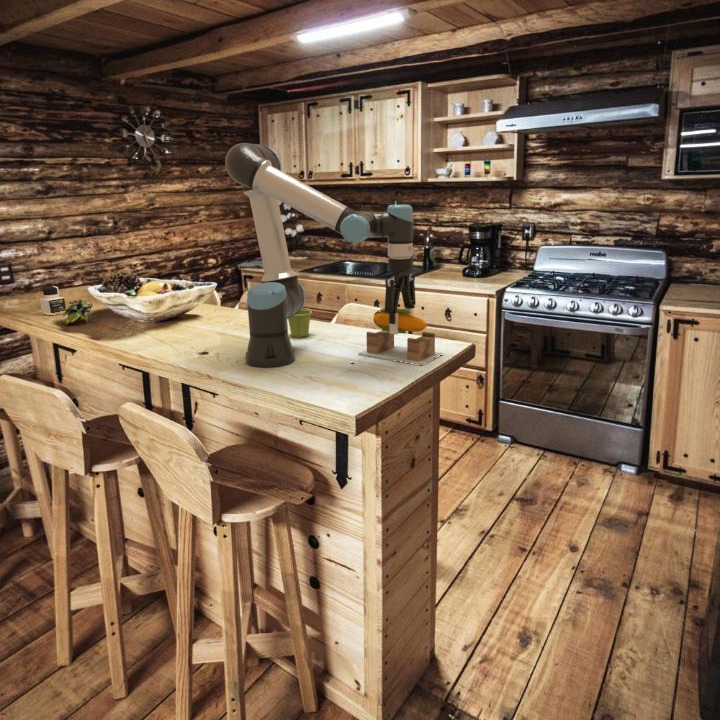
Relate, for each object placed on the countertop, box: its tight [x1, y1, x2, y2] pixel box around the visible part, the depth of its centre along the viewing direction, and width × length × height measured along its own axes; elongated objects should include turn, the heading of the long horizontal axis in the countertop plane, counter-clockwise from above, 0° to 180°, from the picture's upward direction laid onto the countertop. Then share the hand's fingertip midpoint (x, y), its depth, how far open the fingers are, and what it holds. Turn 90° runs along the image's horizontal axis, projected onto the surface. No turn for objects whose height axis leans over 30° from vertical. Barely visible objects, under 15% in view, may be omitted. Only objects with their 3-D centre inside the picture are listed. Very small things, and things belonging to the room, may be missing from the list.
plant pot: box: [287, 309, 313, 339], centre depth 217 cm, size 9×9×9 cm
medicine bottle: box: [39, 285, 67, 313], centre depth 262 cm, size 7×7×12 cm
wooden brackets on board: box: [366, 329, 436, 361], centre depth 191 cm, size 10×19×7 cm, turn 55°
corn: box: [372, 307, 428, 334], centre depth 188 cm, size 7×8×20 cm
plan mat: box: [357, 344, 444, 366], centre depth 192 cm, size 14×23×1 cm, turn 55°
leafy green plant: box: [61, 299, 94, 325], centre depth 244 cm, size 11×11×12 cm
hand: (400, 331), depth 189 cm, fingers closed on corn, 7 cm apart
